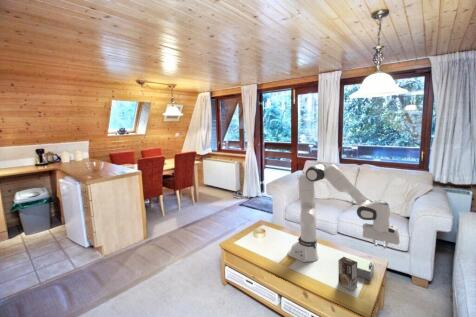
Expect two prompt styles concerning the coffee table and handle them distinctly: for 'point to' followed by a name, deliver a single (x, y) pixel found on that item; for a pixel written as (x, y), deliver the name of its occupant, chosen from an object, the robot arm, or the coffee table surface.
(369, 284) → the coffee table surface
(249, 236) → the coffee table surface
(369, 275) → the bin
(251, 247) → the coffee table surface
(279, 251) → the coffee table surface
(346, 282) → the coffee box
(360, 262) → the lid
